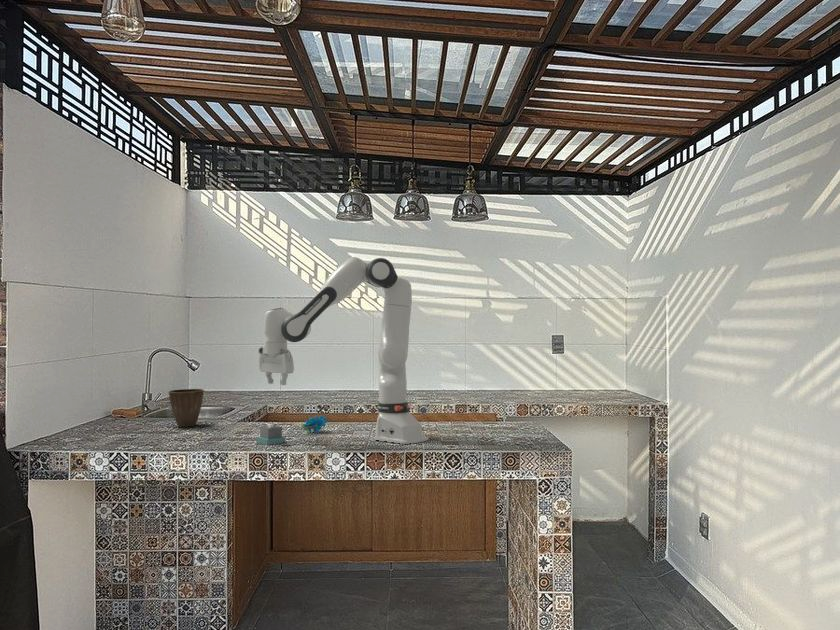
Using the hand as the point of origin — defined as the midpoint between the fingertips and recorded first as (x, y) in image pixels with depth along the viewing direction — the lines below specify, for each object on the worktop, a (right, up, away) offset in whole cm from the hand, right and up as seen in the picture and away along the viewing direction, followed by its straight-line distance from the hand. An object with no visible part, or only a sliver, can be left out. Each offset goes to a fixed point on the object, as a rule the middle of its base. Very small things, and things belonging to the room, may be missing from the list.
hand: (276, 384), depth 257 cm
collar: (-1, -20, -5) cm, 21 cm away
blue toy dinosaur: (+12, -22, +17) cm, 30 cm away
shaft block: (-1, -22, -5) cm, 22 cm away
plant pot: (-49, -23, +36) cm, 64 cm away
